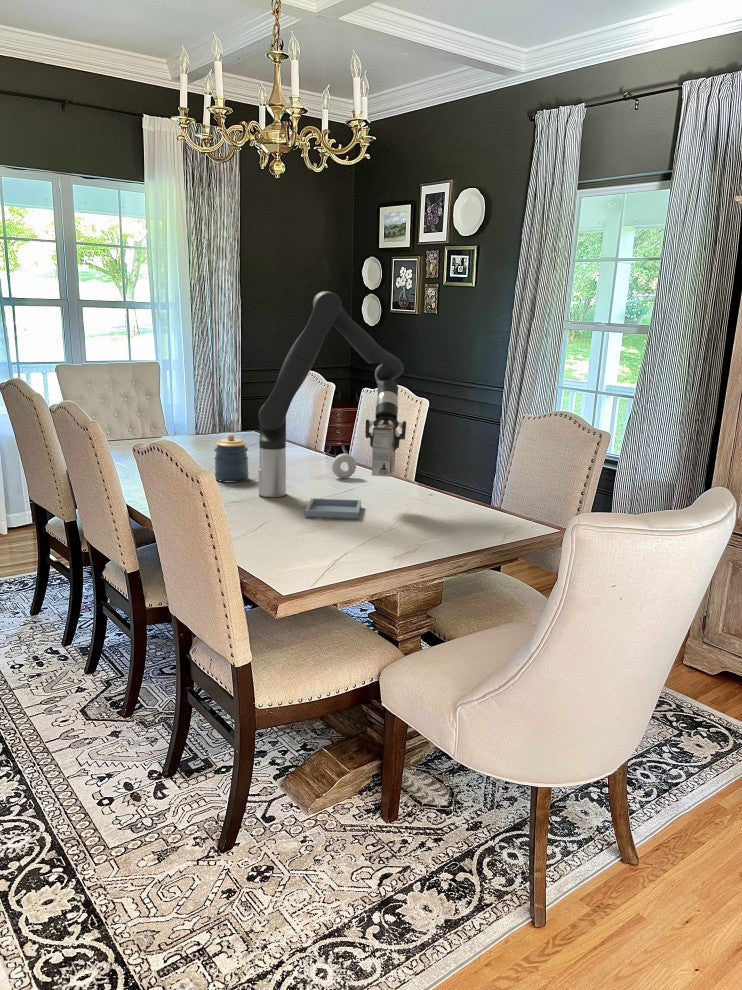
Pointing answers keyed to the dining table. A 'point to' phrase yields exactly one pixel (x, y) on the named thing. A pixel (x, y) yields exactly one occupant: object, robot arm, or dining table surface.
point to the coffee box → (383, 450)
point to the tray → (333, 509)
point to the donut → (339, 461)
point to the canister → (231, 460)
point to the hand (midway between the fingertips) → (384, 447)
